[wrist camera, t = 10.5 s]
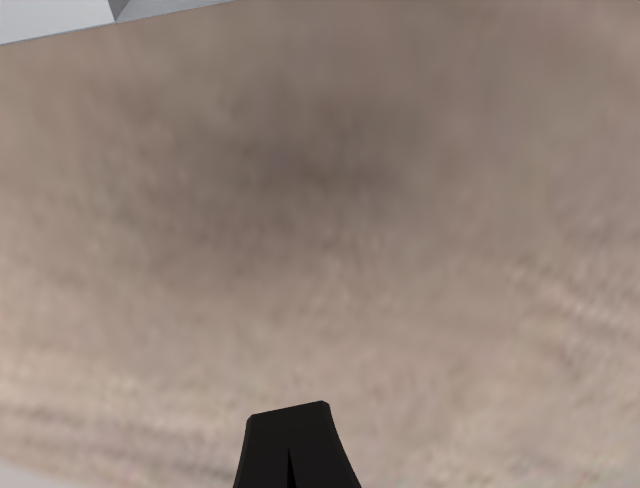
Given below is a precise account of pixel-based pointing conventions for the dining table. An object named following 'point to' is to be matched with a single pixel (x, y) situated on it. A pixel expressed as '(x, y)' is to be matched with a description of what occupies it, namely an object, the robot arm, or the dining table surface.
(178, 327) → the dining table surface
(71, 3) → the control panel
